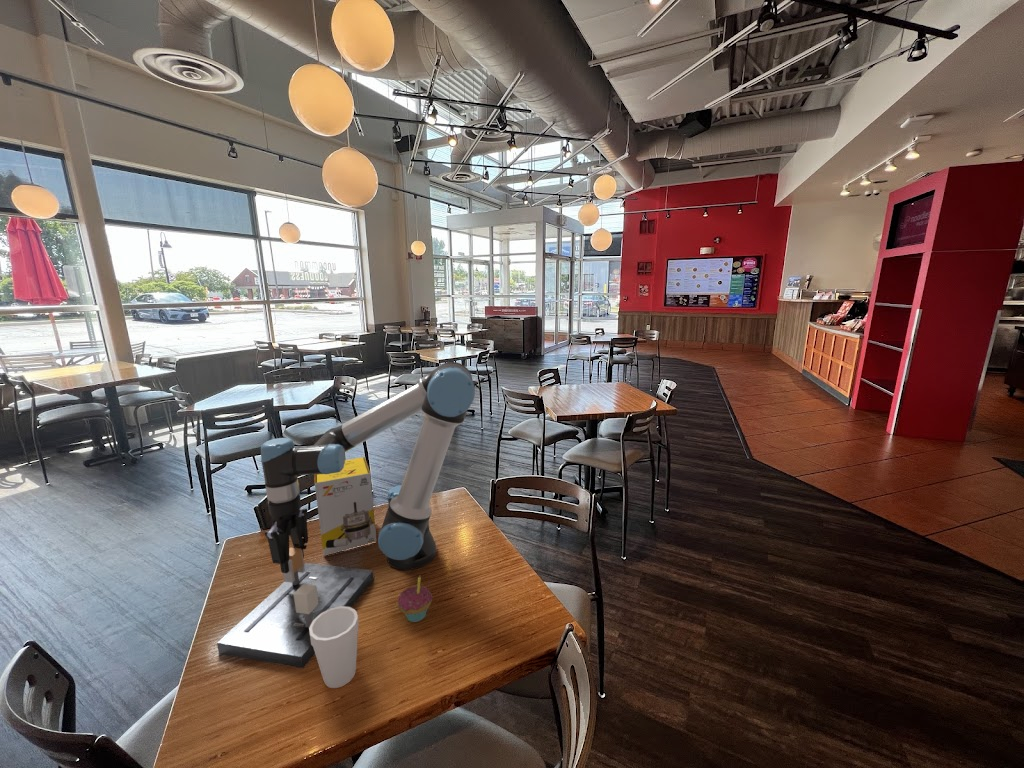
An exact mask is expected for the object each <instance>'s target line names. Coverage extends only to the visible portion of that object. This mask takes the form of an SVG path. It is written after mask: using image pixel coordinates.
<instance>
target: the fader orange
mask: <svg viewBox="0 0 1024 768" xmlns="http://www.w3.org/2000/svg"><path fill="white" fill-rule="evenodd" d="M289 559H292V564H293V572H294V578H295V581H294V582H293V583H292V585H297V584H298V583H299V577H298V569H300V568H301V567H302V566H303V559H304V558H303V559H302V551H301V549H300V548H294V547H289Z"/></svg>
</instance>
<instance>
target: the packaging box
mask: <svg viewBox="0 0 1024 768" xmlns="http://www.w3.org/2000/svg"><path fill="white" fill-rule="evenodd" d="M367 462H368V461H367V460H366V457H365V456H362V457H356V458H350V459H345V464H344V468H343V469H342V471H340V472H338V473H331V474H315V475H314V490H315V495H316V496H315V497H316V506H317V512H318V524H319V530H320V538H321V539H320V540H321V546H322V555H326V554H330V553H334V552H338V551H342V550H346V549H349V548H353V547H357V546H361V545H365V544H368V543H372V542H376V541H377V542H378V539H377V531H376V530H377V529H376V519H375V510H374V502H373V501H374V500H373V499H374V498H373V488H372V480H371V479H372V478H371V477H372V476H371V471H370V469H369V465H368V463H367Z"/></svg>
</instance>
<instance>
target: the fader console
mask: <svg viewBox="0 0 1024 768" xmlns="http://www.w3.org/2000/svg"><path fill="white" fill-rule="evenodd" d="M304 567H305V572H304V573H301V572H298V577H299V583H298V584H297V585H292V582H284V581H283V583H281V584H280V585H279V586H278V587H277V588H275V589H274V590H273V592H271V593H270V594H269V595H268V596H267V597H266V598H265V599H263V600H262V602H260V603H259V604H257V606H256V607H255V608H253V610H252V611H250V612H249V613H248V614H247V615H246V616H245V617H244V618H242V619H241V621H239V622H238V623H237V624H236V625H235V626H233V627H232V628H231V629H230V630H229V631H228V632H227V633H225V634H224V635H223V637H222V638H221V639H220V640H218V641H217V643H216V646H217V649H218V651H217V652H218V655H223V656H228V657H235V658H240V659H246V660H251V661H258V662H264V663H270V664H275V665H280V666H281V665H282V666H286V667H293V668H299V669H304V668H306V666H307V664H308V663H309V662H310V661H311V659H312V658H313V657H314V656H315V651H314V648H313V646H312V645H311V639H310V632H309V627H306V624H305V617H304V613H297V612H296V608H295V601H294V593H295V592H296V591H297V590H298V589H299V588H300V587H301V586H302V585H303V584H309V585H316V588H317V596H318V605H317V606H316V607H315V608H314V609H313V610H312V615H313V620H314V619H315V618H316V617H317V616H318V615H320V614H321V613H323V612H325V611H327V610H329V609H331V608H335V607H340V606H345V607H351V608H353V607H354V605H355V604H356V602H358V601H359V600H360V598H361V597H362V595H363V594H364V593H365V591H367V589H368V588H369V586H370V585H371V584H372V583H373V581H374V579H375V578H374V571H373V570H371V569H363V568H355V567H346V566H345V567H344V566H339V565H338V566H336V565H328V564H319V563H312V562H311V563H310V562H304ZM371 582H372V583H371Z"/></svg>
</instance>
